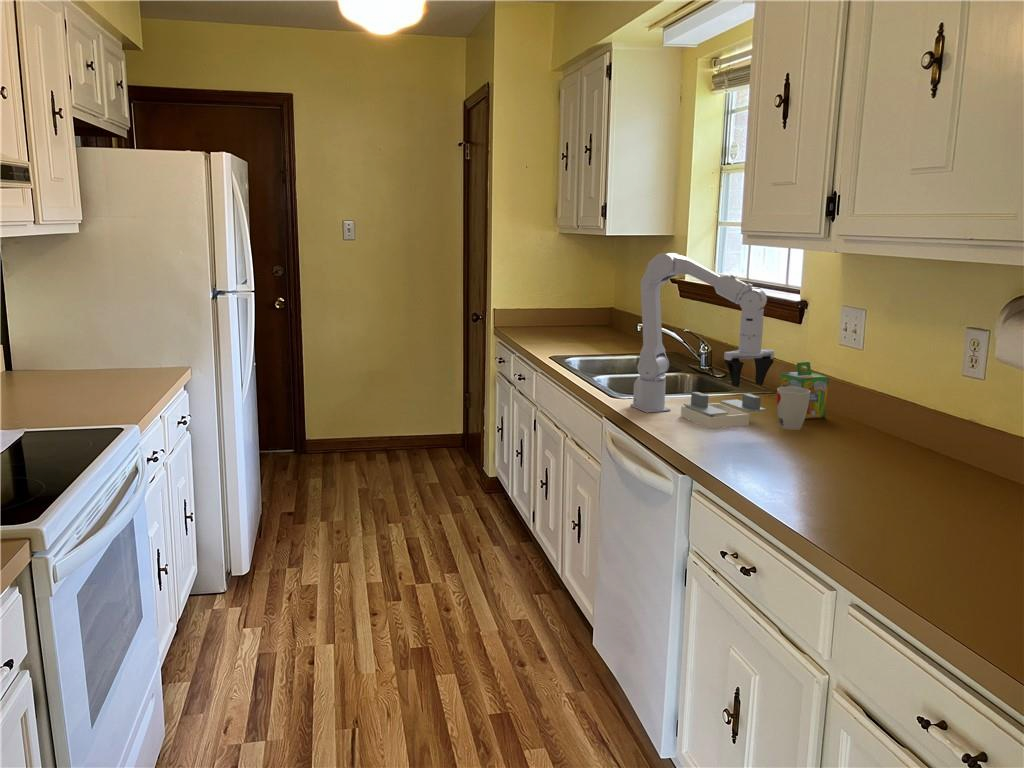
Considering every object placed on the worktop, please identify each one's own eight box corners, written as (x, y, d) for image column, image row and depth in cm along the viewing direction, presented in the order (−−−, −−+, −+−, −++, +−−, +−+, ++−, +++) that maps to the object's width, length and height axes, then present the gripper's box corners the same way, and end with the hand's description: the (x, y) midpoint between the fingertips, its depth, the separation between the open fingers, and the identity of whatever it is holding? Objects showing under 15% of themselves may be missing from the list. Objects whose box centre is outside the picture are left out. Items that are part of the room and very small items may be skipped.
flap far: (720, 402, 224) (721, 389, 223) (737, 400, 226) (738, 388, 225) (748, 412, 212) (749, 398, 211) (765, 410, 214) (766, 397, 213)
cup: (779, 422, 216) (782, 385, 214) (810, 426, 211) (814, 389, 209) (770, 428, 209) (773, 390, 207) (802, 432, 205) (805, 394, 203)
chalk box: (800, 420, 218) (804, 366, 215) (777, 413, 226) (781, 361, 223) (826, 417, 221) (831, 364, 218) (803, 410, 229) (807, 359, 226)
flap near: (683, 405, 219) (684, 392, 219) (701, 403, 221) (701, 390, 221) (710, 415, 208) (710, 401, 207) (728, 413, 210) (729, 400, 209)
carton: (680, 416, 221) (681, 406, 220) (717, 413, 225) (718, 402, 224) (710, 428, 208) (711, 417, 207) (749, 425, 212) (749, 414, 211)
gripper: (737, 338, 205) (733, 390, 208) (783, 335, 211) (779, 386, 213) (720, 334, 212) (717, 384, 215) (766, 332, 217) (762, 381, 220)
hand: (747, 385), depth 214 cm, fingers open, 7 cm apart
